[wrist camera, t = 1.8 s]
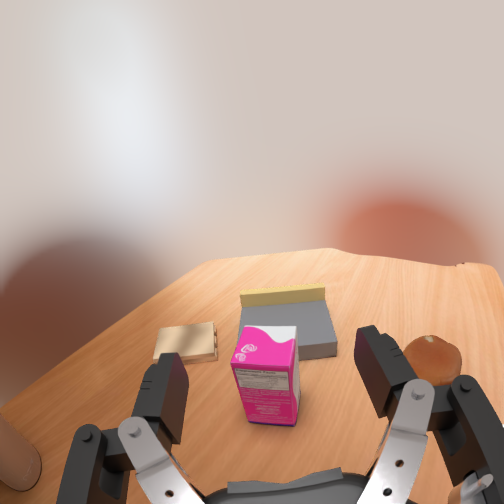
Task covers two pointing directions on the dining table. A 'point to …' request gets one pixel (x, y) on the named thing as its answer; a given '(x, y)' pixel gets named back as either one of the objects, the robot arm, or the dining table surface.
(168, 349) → the block
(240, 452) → the dining table surface
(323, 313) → the dock
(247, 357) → the supplement box
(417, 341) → the burger
